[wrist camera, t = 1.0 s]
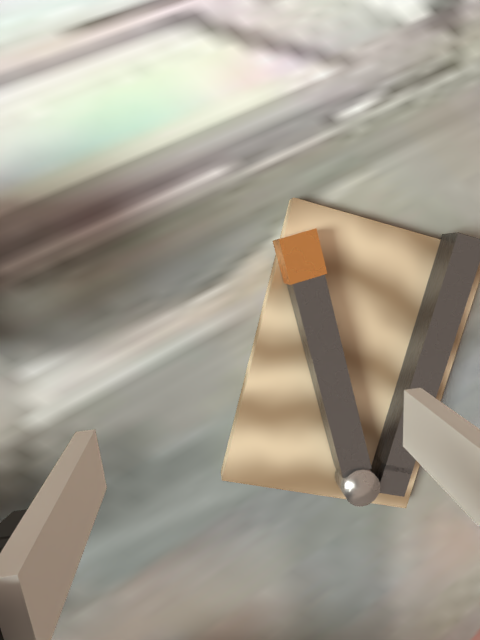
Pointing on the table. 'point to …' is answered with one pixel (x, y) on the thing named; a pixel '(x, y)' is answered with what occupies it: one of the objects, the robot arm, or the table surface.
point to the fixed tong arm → (427, 351)
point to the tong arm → (327, 363)
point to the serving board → (358, 345)
